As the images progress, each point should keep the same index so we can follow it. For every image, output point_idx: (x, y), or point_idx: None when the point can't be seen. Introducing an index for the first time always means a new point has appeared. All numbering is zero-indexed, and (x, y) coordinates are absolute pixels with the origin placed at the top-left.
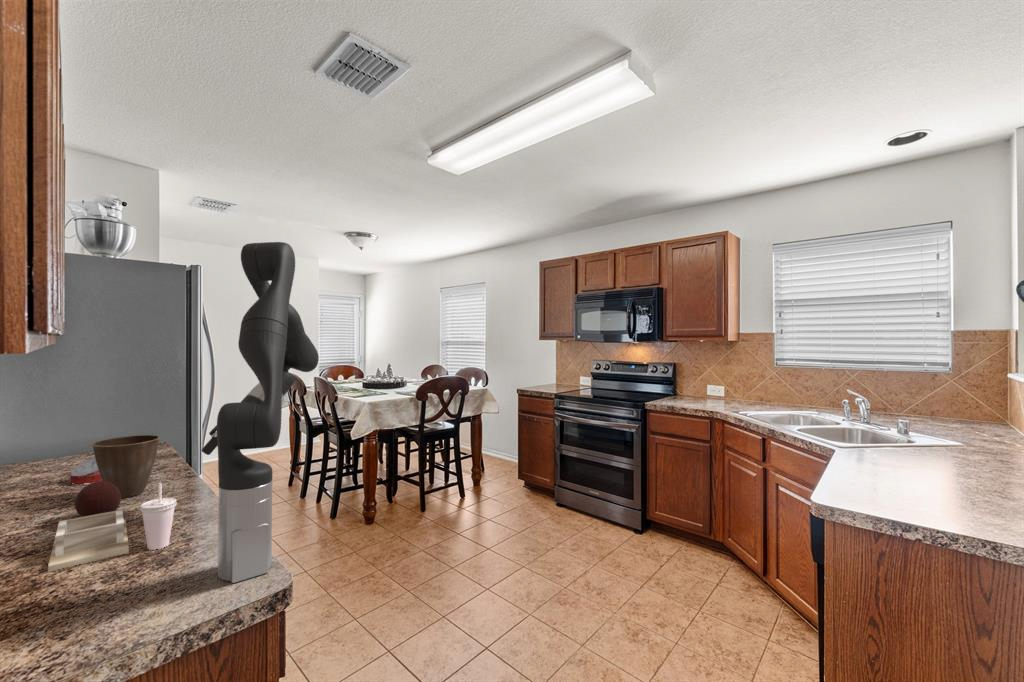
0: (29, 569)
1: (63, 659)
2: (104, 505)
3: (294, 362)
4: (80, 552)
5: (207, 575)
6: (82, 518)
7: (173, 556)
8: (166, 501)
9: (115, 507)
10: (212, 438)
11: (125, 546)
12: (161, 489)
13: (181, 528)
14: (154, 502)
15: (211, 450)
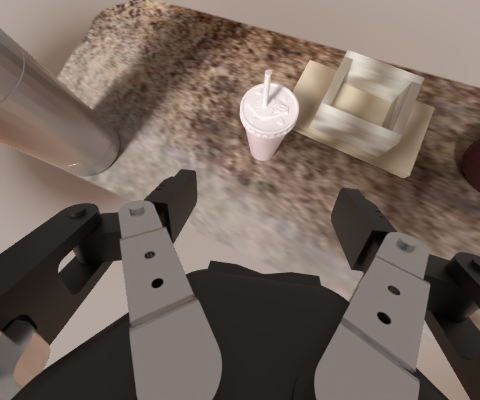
0: (336, 62)
1: (123, 13)
2: (476, 156)
3: None
4: (319, 89)
5: (125, 124)
6: (406, 96)
7: (211, 139)
8: (257, 112)
9: (476, 182)
10: (377, 228)
11: None
12: (264, 85)
13: (300, 202)
14: (273, 100)
15: (337, 226)
